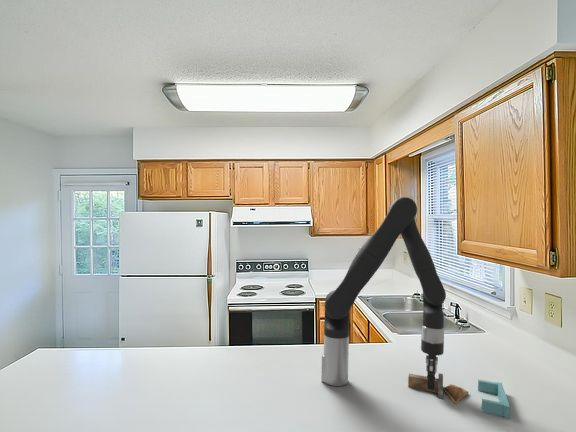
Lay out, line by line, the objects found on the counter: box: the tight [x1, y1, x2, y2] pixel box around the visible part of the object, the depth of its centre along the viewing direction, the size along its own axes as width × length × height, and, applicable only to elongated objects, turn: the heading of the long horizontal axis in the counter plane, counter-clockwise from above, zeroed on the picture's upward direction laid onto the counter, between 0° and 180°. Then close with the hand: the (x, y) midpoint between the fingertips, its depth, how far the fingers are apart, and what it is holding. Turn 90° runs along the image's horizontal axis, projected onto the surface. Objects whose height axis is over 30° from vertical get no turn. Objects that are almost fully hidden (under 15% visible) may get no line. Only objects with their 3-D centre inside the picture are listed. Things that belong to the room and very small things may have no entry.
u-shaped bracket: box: [477, 379, 511, 419], centre depth 123 cm, size 8×18×4 cm, turn 157°
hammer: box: [407, 372, 444, 399], centre depth 132 cm, size 12×10×4 cm
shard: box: [443, 383, 469, 405], centre depth 128 cm, size 11×8×2 cm
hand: (430, 386), depth 131 cm, fingers closed on hammer, 2 cm apart
